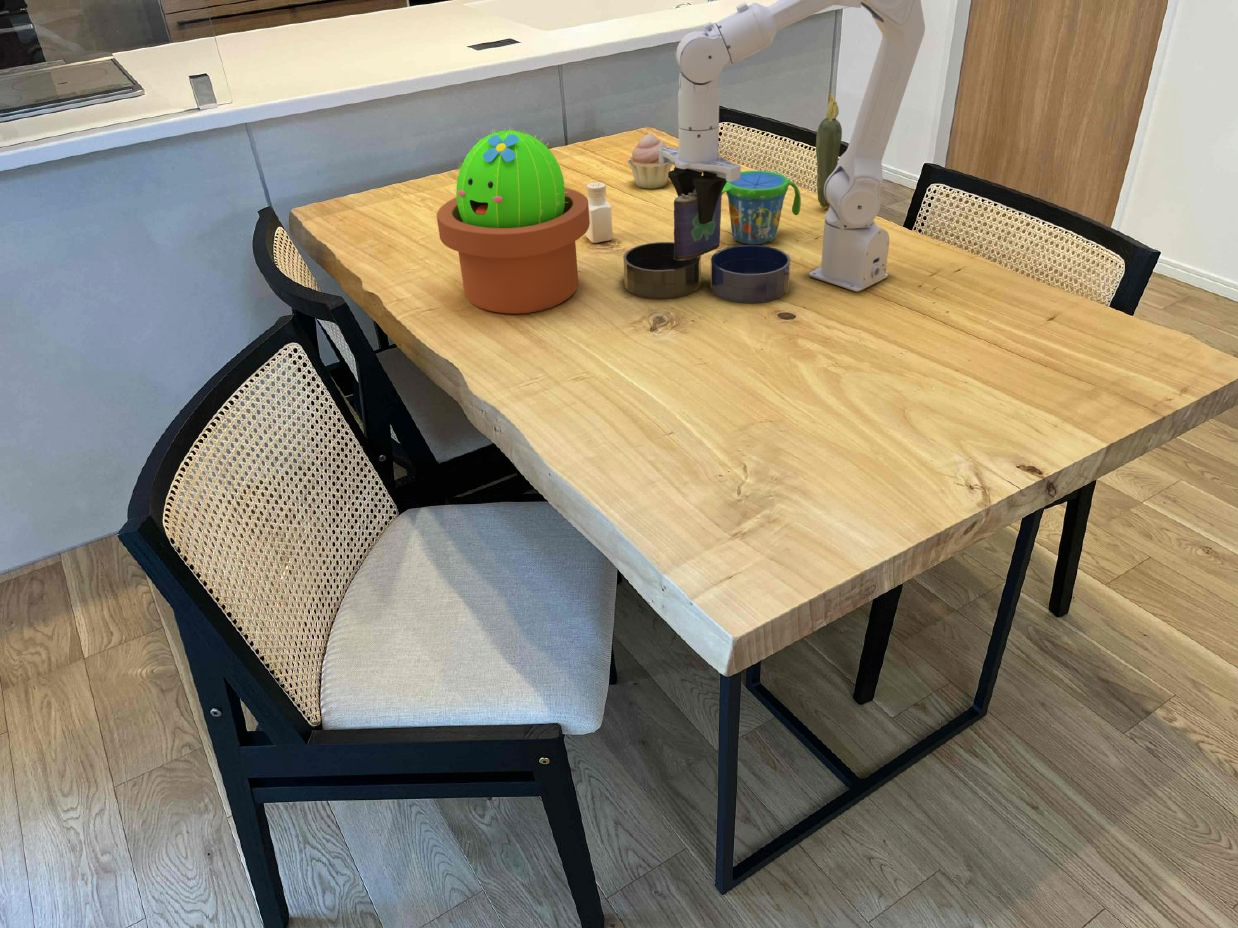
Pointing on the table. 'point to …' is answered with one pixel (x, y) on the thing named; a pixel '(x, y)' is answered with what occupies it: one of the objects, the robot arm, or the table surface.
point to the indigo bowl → (750, 273)
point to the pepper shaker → (599, 214)
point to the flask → (694, 228)
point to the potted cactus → (514, 225)
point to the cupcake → (649, 163)
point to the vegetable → (827, 148)
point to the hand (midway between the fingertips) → (697, 219)
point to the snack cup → (758, 205)
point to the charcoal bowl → (660, 272)
